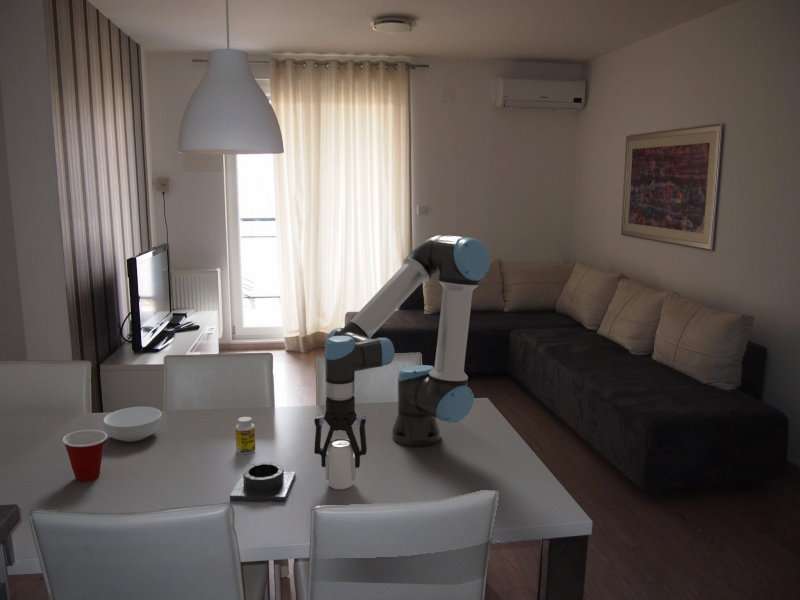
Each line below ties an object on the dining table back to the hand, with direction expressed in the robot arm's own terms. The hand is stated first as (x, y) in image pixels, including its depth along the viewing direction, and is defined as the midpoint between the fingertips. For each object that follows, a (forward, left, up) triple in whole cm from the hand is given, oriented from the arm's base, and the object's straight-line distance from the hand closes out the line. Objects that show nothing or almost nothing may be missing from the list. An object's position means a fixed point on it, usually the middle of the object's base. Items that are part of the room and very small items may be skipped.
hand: (340, 477), depth 168 cm
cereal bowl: (+69, -29, -2) cm, 75 cm away
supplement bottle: (+31, -20, -2) cm, 37 cm away
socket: (+20, +3, -2) cm, 20 cm away
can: (0, 0, -2) cm, 2 cm away
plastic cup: (+69, -1, -2) cm, 69 cm away
